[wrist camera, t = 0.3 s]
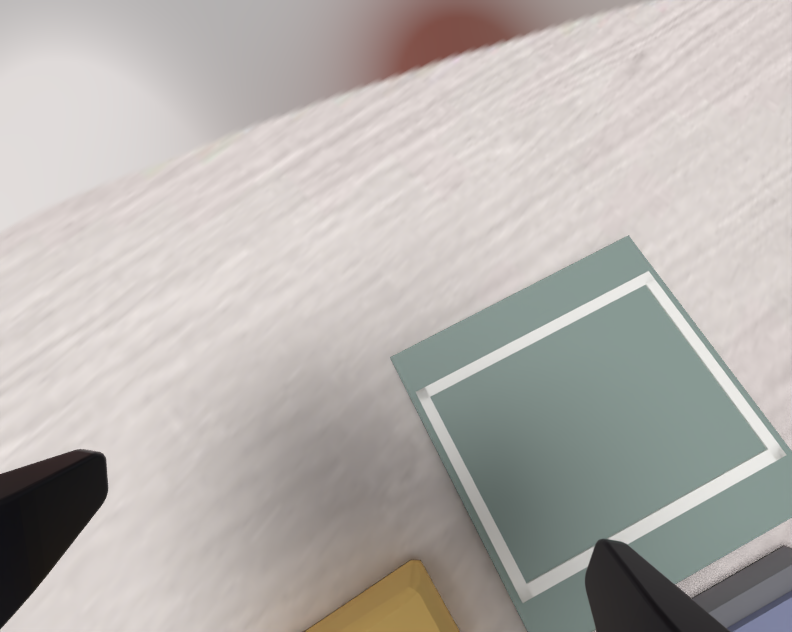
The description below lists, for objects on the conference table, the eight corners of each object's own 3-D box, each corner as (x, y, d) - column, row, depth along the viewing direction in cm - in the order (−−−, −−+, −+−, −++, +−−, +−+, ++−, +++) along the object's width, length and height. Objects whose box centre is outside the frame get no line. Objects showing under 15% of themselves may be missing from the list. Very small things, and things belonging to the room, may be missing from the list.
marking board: (820, 496, 19) (828, 497, 18) (539, 656, 18) (542, 661, 17) (625, 237, 23) (629, 234, 22) (390, 358, 22) (389, 357, 21)
